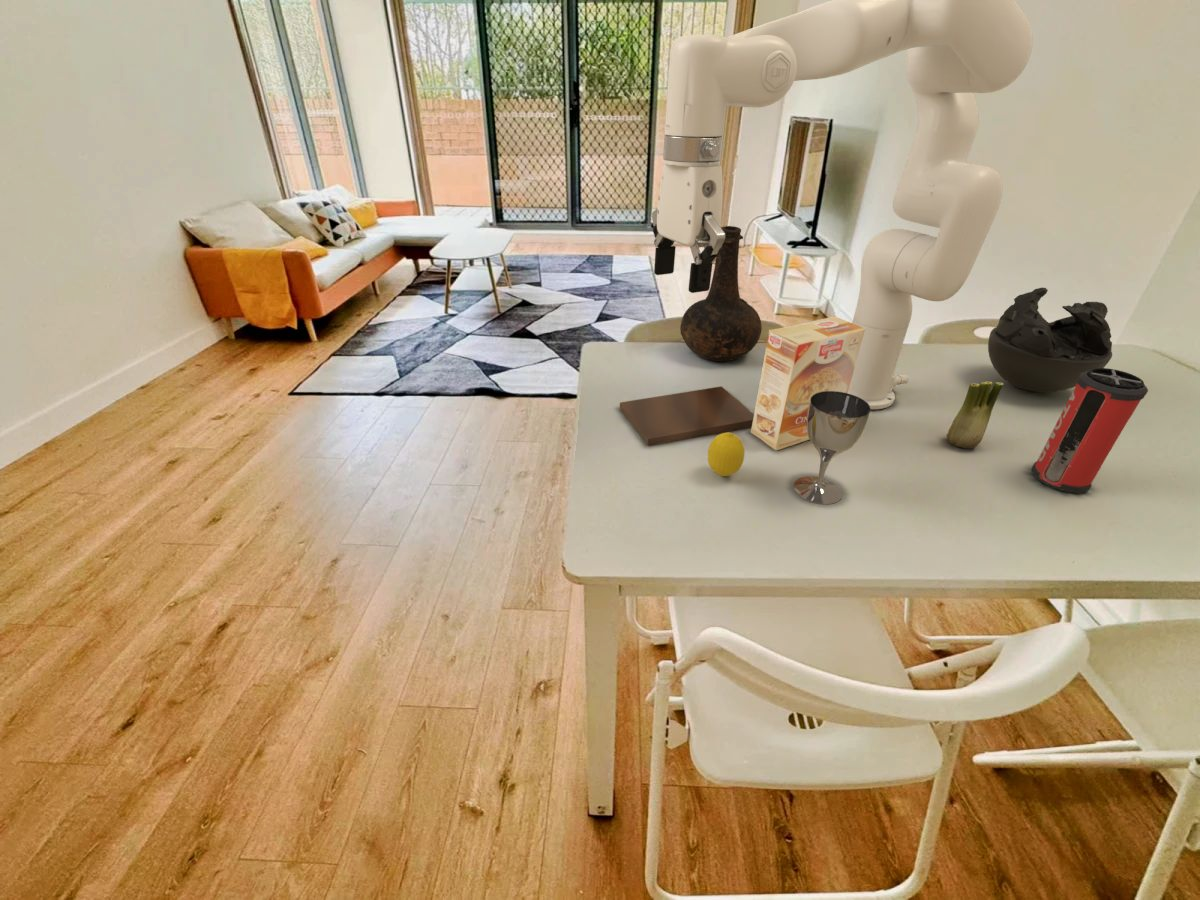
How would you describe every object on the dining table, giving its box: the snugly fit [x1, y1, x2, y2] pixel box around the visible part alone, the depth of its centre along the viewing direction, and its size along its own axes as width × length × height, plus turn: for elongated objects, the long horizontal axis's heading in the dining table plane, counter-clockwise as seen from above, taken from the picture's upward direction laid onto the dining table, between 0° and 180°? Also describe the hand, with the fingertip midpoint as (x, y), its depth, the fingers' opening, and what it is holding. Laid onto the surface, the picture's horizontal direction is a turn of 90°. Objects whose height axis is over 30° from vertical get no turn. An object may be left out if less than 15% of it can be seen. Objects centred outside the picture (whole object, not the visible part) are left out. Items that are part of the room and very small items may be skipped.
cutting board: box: [619, 385, 754, 447], centre depth 105 cm, size 22×14×2 cm, turn 109°
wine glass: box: [792, 391, 871, 505], centre depth 82 cm, size 8×8×15 cm
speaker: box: [1031, 367, 1149, 494], centre depth 84 cm, size 8×8×18 cm
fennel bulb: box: [946, 381, 1004, 449], centre depth 94 cm, size 6×5×12 cm
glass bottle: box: [679, 225, 763, 362], centre depth 123 cm, size 18×18×28 cm
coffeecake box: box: [750, 316, 865, 451], centre depth 96 cm, size 15×7×20 cm, turn 117°
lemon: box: [707, 431, 745, 477], centre depth 87 cm, size 6×6×8 cm
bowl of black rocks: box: [987, 287, 1113, 393], centre depth 111 cm, size 20×20×19 cm
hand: (680, 282), depth 83 cm, fingers open, 9 cm apart
